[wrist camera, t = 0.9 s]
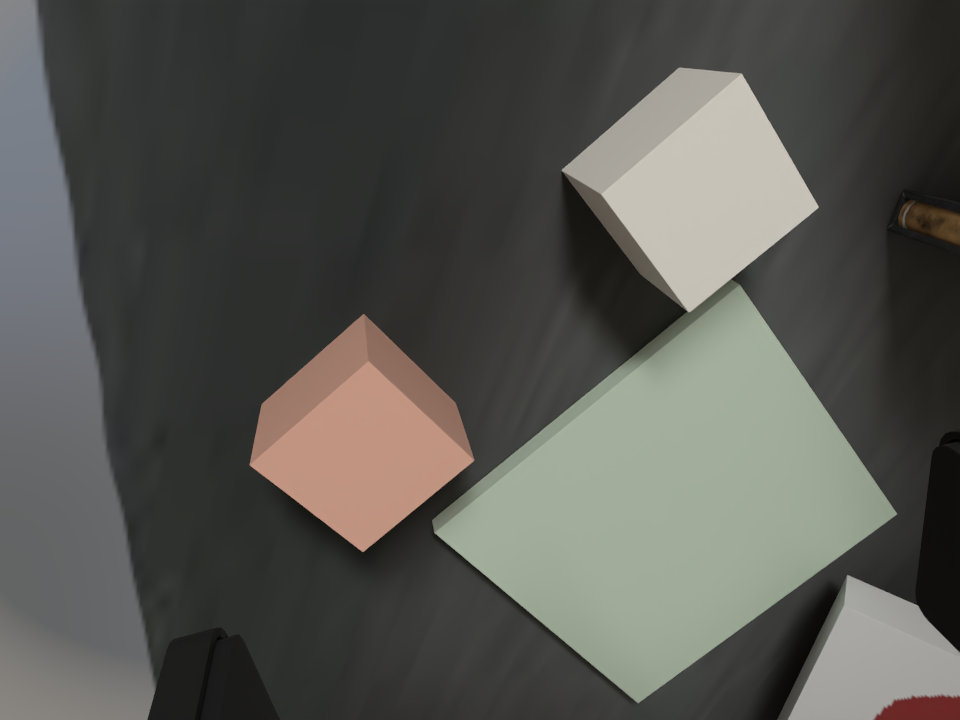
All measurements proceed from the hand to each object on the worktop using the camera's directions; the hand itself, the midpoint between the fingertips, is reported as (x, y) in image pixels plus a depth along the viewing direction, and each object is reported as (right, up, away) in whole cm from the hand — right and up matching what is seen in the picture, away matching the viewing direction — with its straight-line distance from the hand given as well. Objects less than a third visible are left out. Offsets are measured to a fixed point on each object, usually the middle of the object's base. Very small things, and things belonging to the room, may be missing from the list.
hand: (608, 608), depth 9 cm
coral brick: (-7, +1, +22) cm, 24 cm away
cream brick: (+6, +11, +21) cm, 24 cm away
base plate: (+8, -5, +28) cm, 30 cm away
